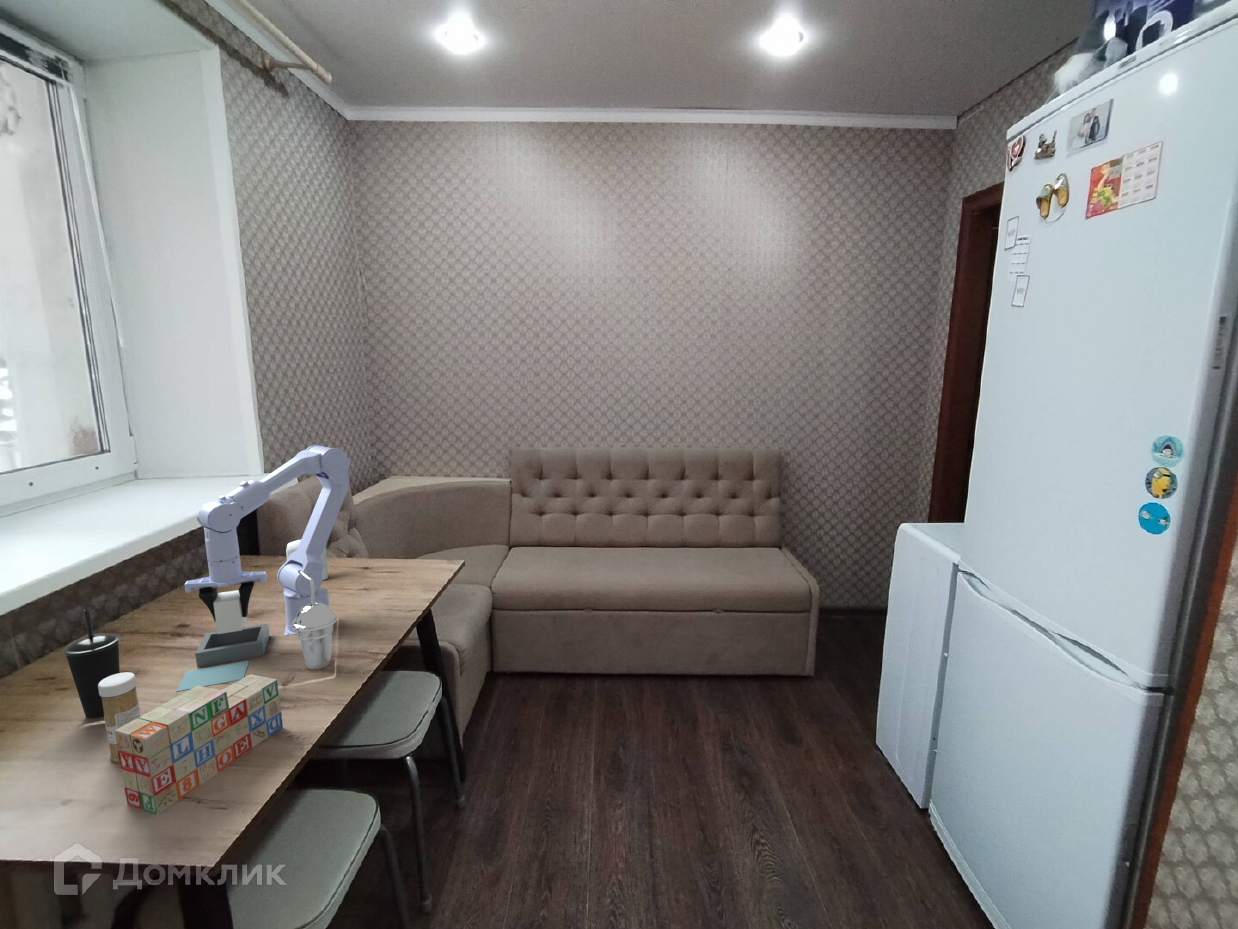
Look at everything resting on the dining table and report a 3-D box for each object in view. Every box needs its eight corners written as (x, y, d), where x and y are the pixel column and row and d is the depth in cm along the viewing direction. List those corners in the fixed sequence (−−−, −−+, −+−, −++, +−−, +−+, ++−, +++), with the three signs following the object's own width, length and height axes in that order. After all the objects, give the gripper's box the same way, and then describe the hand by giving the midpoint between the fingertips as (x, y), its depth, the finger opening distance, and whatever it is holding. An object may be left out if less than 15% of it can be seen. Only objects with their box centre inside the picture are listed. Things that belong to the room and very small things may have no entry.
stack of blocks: (256, 721, 106) (249, 657, 103) (284, 728, 104) (276, 663, 101) (125, 806, 86) (113, 729, 83) (156, 816, 84) (144, 738, 81)
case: (269, 637, 137) (268, 623, 136) (264, 657, 128) (262, 642, 127) (207, 647, 132) (205, 633, 131) (197, 669, 123) (195, 653, 122)
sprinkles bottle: (107, 755, 96) (94, 679, 94) (142, 741, 100) (131, 668, 97) (113, 767, 93) (100, 689, 91) (149, 753, 97) (138, 677, 94)
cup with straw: (294, 680, 119) (284, 586, 115) (297, 659, 127) (288, 571, 123) (341, 671, 122) (333, 579, 119) (341, 651, 130) (333, 565, 127)
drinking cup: (68, 730, 103) (49, 622, 99) (83, 707, 109) (65, 605, 106) (124, 718, 106) (107, 613, 102) (135, 697, 113) (119, 598, 109)
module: (246, 619, 132) (243, 589, 131) (242, 630, 127) (238, 599, 125) (223, 622, 130) (219, 592, 129) (217, 634, 125) (213, 603, 124)
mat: (249, 663, 125) (249, 660, 125) (243, 681, 118) (243, 678, 118) (186, 674, 121) (186, 671, 121) (176, 694, 114) (176, 691, 113)
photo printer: (329, 575, 175) (325, 535, 173) (327, 580, 171) (323, 539, 169) (290, 579, 172) (286, 539, 170) (287, 585, 168) (283, 543, 166)
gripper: (177, 568, 119) (186, 631, 122) (260, 558, 125) (267, 618, 128) (186, 558, 126) (194, 617, 128) (264, 549, 131) (271, 606, 134)
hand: (231, 617), depth 128 cm, fingers closed on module, 4 cm apart
